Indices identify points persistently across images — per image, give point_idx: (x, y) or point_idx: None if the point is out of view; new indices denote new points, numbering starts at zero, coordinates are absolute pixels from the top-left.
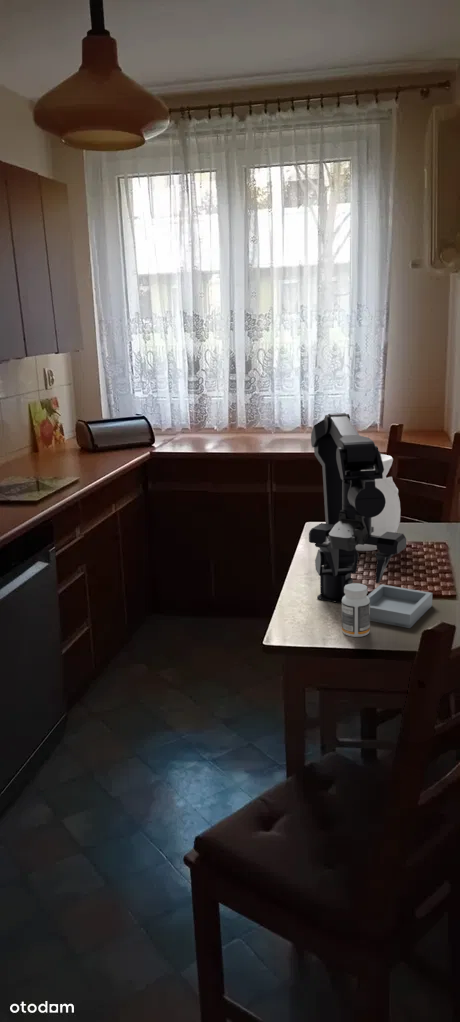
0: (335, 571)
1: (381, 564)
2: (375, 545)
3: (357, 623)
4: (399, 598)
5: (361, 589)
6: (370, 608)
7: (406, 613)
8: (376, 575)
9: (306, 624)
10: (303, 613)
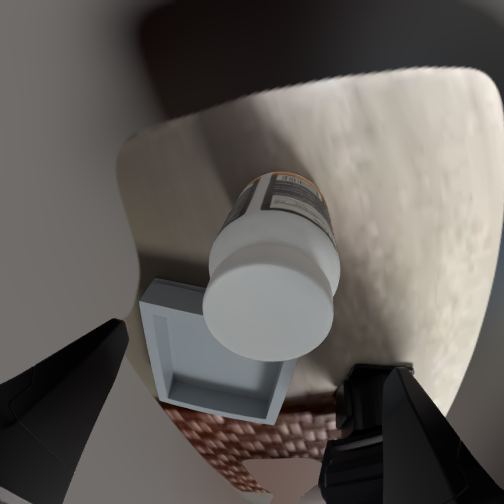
0: (399, 390)
1: (8, 387)
2: (318, 489)
3: (258, 187)
4: (231, 395)
5: (223, 295)
6: None
7: (150, 306)
8: (91, 347)
9: (438, 228)
10: (447, 293)
